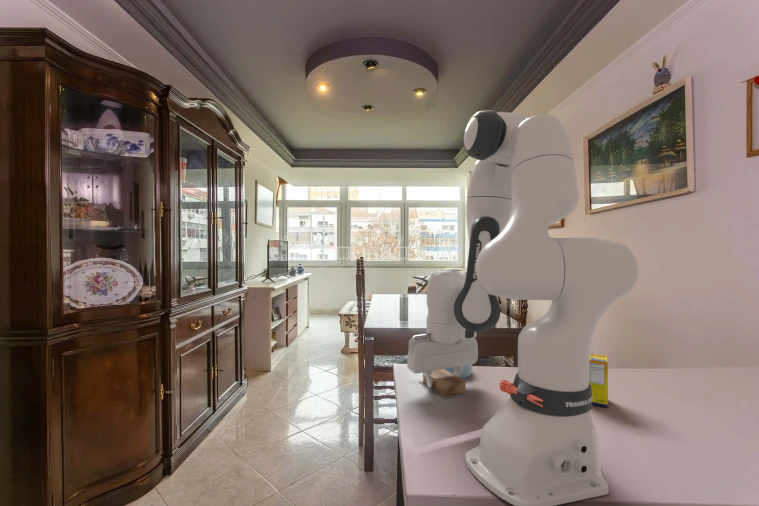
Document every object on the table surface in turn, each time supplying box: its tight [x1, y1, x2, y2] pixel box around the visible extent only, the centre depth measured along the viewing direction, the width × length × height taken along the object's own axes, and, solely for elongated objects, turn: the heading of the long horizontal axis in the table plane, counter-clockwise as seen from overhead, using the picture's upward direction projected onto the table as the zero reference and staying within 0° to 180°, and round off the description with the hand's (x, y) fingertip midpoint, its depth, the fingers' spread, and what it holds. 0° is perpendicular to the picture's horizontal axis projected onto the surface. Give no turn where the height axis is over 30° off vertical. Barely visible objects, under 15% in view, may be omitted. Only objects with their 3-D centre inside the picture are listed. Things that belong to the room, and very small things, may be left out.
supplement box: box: [589, 353, 609, 409], centre depth 83 cm, size 6×6×11 cm
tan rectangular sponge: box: [422, 369, 466, 397], centre depth 88 cm, size 6×10×3 cm, turn 25°
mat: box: [418, 380, 471, 400], centre depth 88 cm, size 8×12×1 cm, turn 25°
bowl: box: [444, 364, 473, 379], centre depth 100 cm, size 9×9×4 cm
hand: (443, 384), depth 88 cm, fingers closed on tan rectangular sponge, 6 cm apart
